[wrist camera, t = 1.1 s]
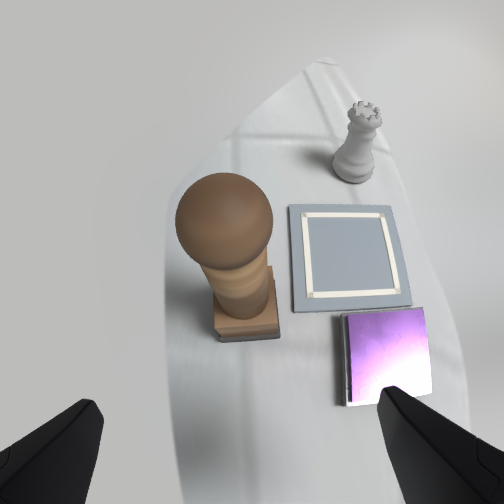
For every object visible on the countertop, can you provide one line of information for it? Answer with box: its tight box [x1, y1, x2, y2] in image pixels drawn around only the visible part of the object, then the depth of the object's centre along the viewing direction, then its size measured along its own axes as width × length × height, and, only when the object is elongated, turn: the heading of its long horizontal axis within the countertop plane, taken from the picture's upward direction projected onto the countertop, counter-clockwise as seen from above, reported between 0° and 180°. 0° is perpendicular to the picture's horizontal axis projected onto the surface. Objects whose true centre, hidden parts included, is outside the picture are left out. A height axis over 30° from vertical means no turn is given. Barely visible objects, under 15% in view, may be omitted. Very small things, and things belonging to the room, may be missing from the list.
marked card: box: [289, 204, 413, 313], centre depth 24 cm, size 10×10×1 cm
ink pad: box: [339, 307, 432, 407], centre depth 19 cm, size 7×7×2 cm
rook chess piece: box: [332, 101, 382, 183], centre depth 25 cm, size 4×4×8 cm
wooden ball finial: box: [175, 173, 280, 343], centre depth 16 cm, size 4×4×14 cm
